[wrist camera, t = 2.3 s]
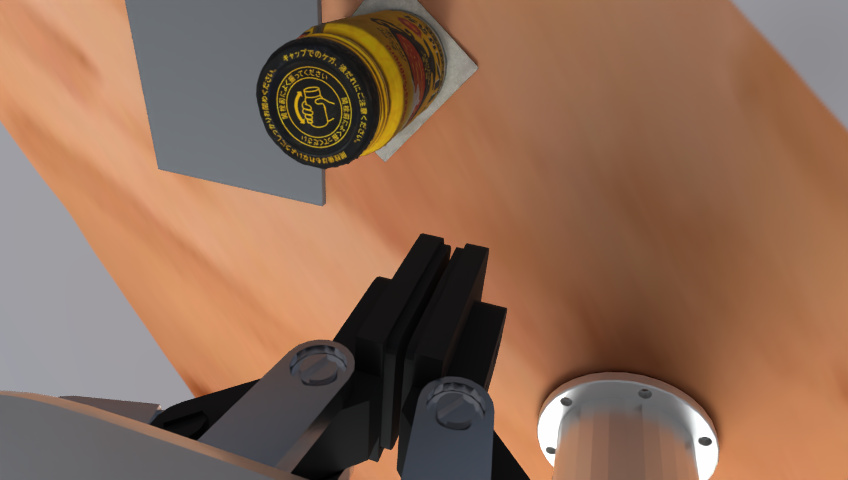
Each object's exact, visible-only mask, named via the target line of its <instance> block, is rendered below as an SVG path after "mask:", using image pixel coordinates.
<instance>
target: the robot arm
mask: <svg viewBox="0 0 848 480" xmlns="http://www.w3.org/2000/svg"><path fill="white" fill-rule="evenodd" d="M450 253H451V246H450V245H445V244H444V238H441V237H436V236H432V235H428V234H423V233H422V234H420V236H419V237H418V239H417V240H416V242H415V244H414V245H413V247H412V248H411V250H410V251H409V253H408V255H407V256H406V258H405V259H404V261H403V262H402V264H401V266H400V267H399V269H398V270H397V272H396V273H395V275H394V277H393V278H392V279H388V278H384V277H380V276H379V277H377V278H376V279H375V280H374V281H373V282H372V284H371V285H370V287H369V288H368V290H367V291H366V293H365V294H364V296H363V297H362V299H361V300H360V301H359V303H358V304H357V306H356V307H355V309H354V310H353V312H352V313H351V315H350V316H349V318H348V319H347V320H346V322H345V323H344V325H343V326H342V328H341V329H340V331H339V332H338V334H337V335H336V337H335V338H334V339H333V341H330V340H313V341H308V342H305V343H303V344H300V345H298V346H296V347H295V348H293V349H292V350H291V351H289V352H288V353H287V354H286V355H285V356H284V357H283V358H282V359H281V360H280V361H279V362H278V363H277V364H276V365H275V366H274V367H273V368H272V369H271V370H270V371H269V372H268V373H267V374H265V375H264V376H263V377H262V378H261V379H258V380H255V381H251V382H248V383H244V384H241V385H238V386H234V387H231V388H228V389H224V390H221V391H218V392H214V393H211V394H208V395H204V396H201V397H198V398H194V399H191V400H187V401H184V402H181V403H179V404H176V405H174V406H171V407H169V408H168V409H166V410H161V407H160V405H159V404H152V403H151V404H150V403H141V402H131V401H121V400H110V399H100V398H90V397H80V396H62V397H61V396H60V397H53V396H47V395H41V394H36V393H27V392H15V391H0V480H349V479H350V477H351V475H352V473H353V471H354V465H356V464H359V463H361V462H364V461H366V460H368V459H370V460H373V461H376V462H378V461H379V458H380V456H381V454H382V452H383V449H384V448H386V449H389V450H392V448H393V447H394V445H395V442H396V440H397V438H398V435H399V442H398V459H397V471H398V473H399V475H400V477H401V480H530V479H529V477H528V476H527V474H526V473H525V472H524V470H523V469H522V468H521V466H520V465H519V464H518V462H517V461H516V459H515V458H514V457H513V455H512V454H511V453H510V451H509V450H508V449H507V447H506V446H505V445H504V443H503V442H502V440H501V439H500V438H499V436H498V435H497V434H496V432H495V431H494V430H493V429H494V406H493V401H492V399H491V398H490V396H489V394H488V393H487V392H488V389H489V385H490V382H491V378H492V374H493V371H494V367H495V363H496V359H497V355H498V351H499V347H500V342H501V338H502V333H503V328H504V323H505V318H506V313H507V308H504V307H500V306H496V305H492V304H488V303H484V302H481V297H482V291H483V285H484V279H485V273H486V267H487V261H488V254H489V248H485V247H481V246H476V245H472V244H468V243H467V244H466V245H465V247H464V249H463V248H458V247H456V249H455V251H454V253H453V255H452V257H451V259H450ZM537 437H538V441H539V444H540V448H541V450H542V451H543V453H544V455H545V457H546V459H547V460H548V461H549V462H550V464H551V465H552V466H553V467H554V468H553V476H552V480H709V478H710V477H711V476H712V475H713V473H714V472H715V469H716V467H717V464H718V462H719V450H720V448H719V443H718V437H717V433H716V430H715V428H714V425H713V422H712V420H711V419H710V417H709V416H708V415H707V413H706V412H705V410H704V409H703V408H702V407H701V406H700V405H699V404H698V403H697V402H696V401H695V400H694V399H693V398H691V397H690V396H688V395H687V394H685V393H684V392H682V391H681V390H679V389H678V388H676V387H673V386H671V385H669V384H667V383H665V382H663V381H660V380H657V379H654V378H650V377H647V376H644V375H638V374H631V373H625V372H603V373H595V374H589V375H585V376H582V377H578V378H575V379H573V380H571V381H568V382H566V383H564V384H562V385H561V386H560V387H558V388H557V389H556V390H554V391H553V392H552V393H551V394H550V395H549V396H548V398H547V399H546V400H545V401H544V403H543V406H542V408H541V410H540V413H539V419H538V424H537Z"/></svg>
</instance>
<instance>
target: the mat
mask: <svg viewBox="0 0 848 480" xmlns="http://www.w3.org/2000/svg"><path fill="white" fill-rule="evenodd" d="M125 3H126V8H127V13H128V18H129V23H130V28H131V33H132V38H133V43H134V49H135V54H136V59H137V64H138V69H139V74H140V79H141V84H142V89H143V94H144V99H145V104H146V109H147V114H148V119H149V124H150V129H151V134H152V139H153V144H154V149H155V154H156V159H157V164H158V169H160V170H165V171H169V172H173V173H178V174H182V175H187V176H191V177H195V178H200V179H204V180H209V181H213V182H218V183H222V184H226V185H231V186H235V187H240V188H244V189H248V190H253V191H257V192H262V193H266V194H271V195H275V196H279V197H284V198H288V199H293V200H297V201H301V202H306V203H310V204H315V205H319V206H323V205H324V204H325V203H326V198H325V169H320V168H316V167H312V166H308V165H303V164H301V163H299V162H297V161H296V160H294V159H292V158H291V157H289V156H288V155H287V154H285V153H284V152H283V151H282V150H281V149H280V147H278V146H277V145H276V144H275V143H274V141H273V140H272V139H271V138H270V136H269V135H268V133H267V131H266V129H265V126H264V123H263V121H262V119H261V116H260V112H259V108H258V104H257V98H256V84H257V81H258V78H259V74H260V72H261V70H262V68H263V66H264V65H265V63H266V62H267V60H268V58H269V57H270V55H271V54H272V53H273V52H274V51H276V50H277V49H278V48H279V47H281V46H282V45H284V44H285V43H287V42H289V41H291V40H295V39H297V38H298V37H299V36H300V35H302V33H303V32H305V31H306V30H308V29H310V28H311V27H312V26H316V25H319V24H322V16H321V0H125Z"/></svg>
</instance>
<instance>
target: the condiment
mask: <svg viewBox="0 0 848 480" xmlns="http://www.w3.org/2000/svg"><path fill="white" fill-rule="evenodd" d="M477 69H478V67H477V66H476V64H475V63H474V62H473V61H472V60H471V59H470V58H469V57H468V56H467V55H466V53H465V52H464V51H463V50H462V49H461V48H460V47H459V46H458V45H457V43H456V42H455V41H454V40H453V39H452V38H451V37H450V36H449V34H448V33H447V32H446V31H445V30H444V29H443V28H442V27H441V26H440V25H439V23H438V22H437V21H436V20H435V19H434V18H433V17H432V16H431V15H430V14H429V13H428V12H427V11H426V9H425V8H424V7H423V6H422V5H421V4H420V3H419V2H418V1H417V0H364V1H363V2H362V3H361V5H360V6H359V7H358V9H357V10H356V11H355V12H354V14H353V15H352V16H351V17H349V18H343V19H340V20H335V21H331V22H327V23H322V24H319V25H316V26H312V27H311V28H310V29H308V30H306V31H305V32H303V33H302V35H300V36H299V37H298V38H297V39H295V40H291V41H289V42H287V43H285V44H284V45H282V46H281V47H279V48H278V49H277V50H276V51H274V52H273V53H272V54H271V55H270V57H269V58H268V60H267V62H266V63H265V65H264V66H263V68H262V70H261V72H260V74H259V78H258V81H257V84H256V98H257V104H258V108H259V112H260V116H261V119H262V121H263V123H264V126H265V129H266V131H267V133H268V135H269V136H270V138H271V139H272V140H273V141H274V143H275V144H276V145H277V146H278V147H280V149H281V150H282V151H283V152H284V153H285V154H287V155H288V156H289V157H291V158H292V159H294V160H296V161H297V162H299V163H301V164H303V165H308V166H312V167H316V168H320V169H327V168H331V167H338V166H340V165H344V164H349V163H350V162H351V161H352V160H355V159H358V157H360V156H365V155H368V154H370V153H372V152H375V153H376V154H377V155H378V156H379V157H380V158H381V159H382V160H383V161H384V162H386V161H387V160H388V159H389V158H390V157H391V156H392V155H393V154H394V153H395V152H396V151H397V150H398V149H399V148H400V147H401V146H402V145H403V144H404V143H405V142H406V141H407V140H408V138H409V137H410V136H411V135H413V134H414V133H415V132H416V131H417V130H418V129H419V128H420V127H421V126H422V124H423V123H424V122H425V121H426V120H427V119H428V118H429V117H430V116H431V115H432V114H433V113H434V112H435V111H436V110H437V109H438V108H439V107H440V106H441V105H442V104H443V103H444V102H445V101H446V100H447V99H448V98H449V97H450V96H451V95H452V94H453V93H454V92H455V91H456V90H457V89H458V88H459V87H460V86H461V85H462V84H463V83H464V82H465V81H466V80H467V79H468V78H469V77H470V76H471V75H472V74H473V73H474V72H475V71H476V70H477Z"/></svg>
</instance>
